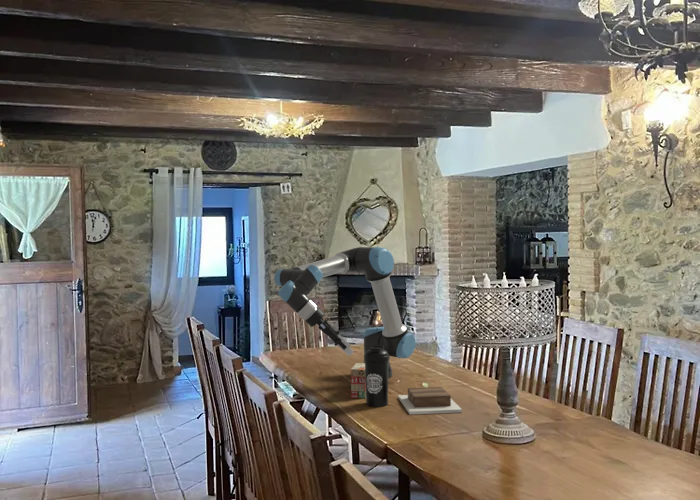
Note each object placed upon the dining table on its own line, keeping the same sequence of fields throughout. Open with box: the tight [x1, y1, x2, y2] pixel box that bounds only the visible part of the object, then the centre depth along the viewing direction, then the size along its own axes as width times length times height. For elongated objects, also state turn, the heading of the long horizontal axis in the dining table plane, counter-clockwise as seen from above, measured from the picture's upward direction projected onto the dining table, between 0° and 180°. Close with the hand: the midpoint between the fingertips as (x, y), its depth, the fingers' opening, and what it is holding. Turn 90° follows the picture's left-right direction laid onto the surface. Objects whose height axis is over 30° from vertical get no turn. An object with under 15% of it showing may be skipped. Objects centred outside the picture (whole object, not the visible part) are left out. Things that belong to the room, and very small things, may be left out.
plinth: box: [407, 386, 452, 407], centre depth 250 cm, size 14×14×4 cm
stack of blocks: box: [350, 362, 366, 399], centre depth 272 cm, size 21×6×12 cm, turn 168°
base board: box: [398, 394, 463, 416], centre depth 250 cm, size 24×20×1 cm
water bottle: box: [363, 345, 391, 408], centre depth 252 cm, size 10×10×23 cm
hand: (349, 350), depth 250 cm, fingers open, 13 cm apart
